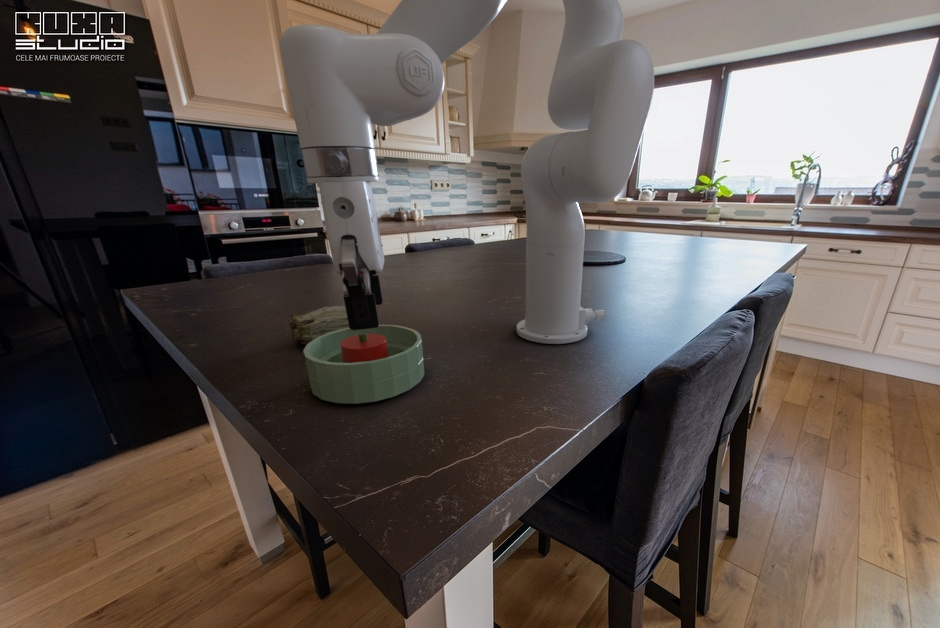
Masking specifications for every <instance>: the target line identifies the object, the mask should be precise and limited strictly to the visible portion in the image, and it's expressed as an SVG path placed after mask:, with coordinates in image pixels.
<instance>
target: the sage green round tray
mask: <svg viewBox="0 0 940 628" xmlns="http://www.w3.org/2000/svg"><path fill="white" fill-rule="evenodd" d="M362 332H366V333H367V334H380V335H383V336H385V337H386V340H387V349H388V357H387V358H382V359H377V360H373V361H366V362H355V363H343V359H342V352H341V346H340V343H341V341H343V340H344V339H346V338H348V337H351V336H355V335H358V334H359V333H362ZM302 353H303V357H304V363H305V366H306V367H305V369H306V372H307V377H308V382H309V388H310V390H311V393H312V395H313V396H315V397H317V398H319V399H320V400H322V401H326V402H330V403H334V404H347V405H348V404H349V405H350V404H351V405H352V404H353V405H358V404H367V403H375V402H379V401H383V400H386V399H391V398H393V397H396V396H399V395H401V394H403V393H405V392H408V391H410V390H411V389H413V388H414V387H415V386H417V385H418V384H419V383H421V381H422V380H423V378H424V377H425V376H426V375H425V374H426V373H425V372H426V371H425V361H424V349H423V340H422V334H421V333H420V332H419V331H417V330H416V329H413V328H411V327H407V326H403V325H396V324H380V325H379V326H378V327H377V328H370V329H361V330H351V329H350V328H345V329H341V330H337V331H334V332H330V333H327V334H325V335H322V336H320V337H317V338H315V339H314V340H312V341H311V342H309V343H308V344H307V345H305V346H304V348H303V350H302Z"/></svg>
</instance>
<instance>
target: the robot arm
mask: <svg viewBox="0 0 940 628" xmlns="http://www.w3.org/2000/svg"><path fill="white" fill-rule="evenodd" d="M507 2H508V0H400V2H399V3H398V5H397V6H396V7H395V8H394V10H393V11H392V12H391V14H390V15H389V16H388V18H386V20H385V22H384V23H383V24H382V25H381V27H380V28H379V29H378V31H377V32H376V33H350V32H345V31H344V30H341V29H338V28H336V27H332V26H329V25H322V24H313V23H308V24H298V25H293V26H290V27H287V28H286V29H285V30H283V32H282V34H281V36H280V38H279V48H280V49H279V50H280V56H281V61H282V65H283V66H282V67H283V71H284V75H285V80H286V86H287V89H288V96H289V100H290V104H291V108H292V109H291V110H292V114H293V119H294V123H295V128H296V132H297V138H298V143H299V147H300V152H301V157H302V162H303V167H304V171H305V177H306V181H307V184H318V188H319V194H320V200H321V202H320V203H321V206H322V213H323V218H324V219H323V220H324V223H325V224H324V225H325V230H326V235H327V240H328V245H329V250H330V255H331V259H332V262H333V267H334V270H335V272H336V273H337V275H339V276H341V280H342V293H343V301H344V306H345V307H346V313H347V318H348V323H349V328H350V329H351V330H361V329H370V328H377V327H378V326H379V323H380V322H379V315H378V310H377V308H378V307H377V308H376V306H381V305H383V303H384V301H383V295H382V288H381V282H380V276H379V274H380V273H382V271H383V269H384V265H385V254H384V248H383V243H382V238H381V237H382V236H381V231H380V224H379V218H378V212H377V207H376V201H375V196H374V192H373V189H372V188H373V187H372V185H371V183H376V182H380V181H381V179H380V173H379V167H378V161H377V154H376V152H377V151H376V146H375V139H374V133H373V132H374V131H373V125H375V126H379V127H392V126H394V125H397V124H401V123H403V122H406V121H411V120H413V119H416V118H419V117H423V116H424V115H426V114H428V113H429V112H431V111H432V110H433V109H434V108H435V107H436V106H437V104H438V103H439V102H440V101H441V98H442V97H443V96H442V95H443V93H444V89H445V72H444V69H443V64H444V63H445V62H446V61H447V60H448V59H449V58H450V57H451V56H453V54H455V53H457V51H459V50H460V49H462V48H463V47H464V46H466V45H467V44H468V43H470V42H471V41H473V40H474V39H476V38H477V37H478V36H479V35H480V34H481V33H482V32H483V31H484V30H485V29H486V28H487V27H488V26H489V25H491V23H492V22H493V21H494V20H495V19H496V18H497V16H498V15H499V13H500V12H501V11H502V9H503V7H504V6H505V4H507ZM562 3H563V7H564V17H565V20H564V28H563V32H562V37H561V41H560V45H559V50H558V54H557V58H556V61H555V65H554V69H553V74H552V78H551V81H550V84H549V85H550V86H549V91H548V95H547V112H548V115H549V118H550V120H551V122H552V123H553V124H554V125H555V126H557V128H560V129H564V130H568V131H566V132H561V133H560V132H559V133H555V134H550V135H546V136H543V137H541V138H539V139H537V140H535V141H534V142H533V143H532V144H531V145H530V146H529V147H528V148H527V149H526V151H525V153H524V155H523V157H522V161H521V166H520V167H521V168H520V180H521V186H522V193H523V199H524V205H525V206H524V207H525V218H526V219H525V220H526V221H525V222H526V225H525V226H526V227H525V229H526V231H525V232H526V233H525V234H526V235H525V236H526V238H525V239H526V241H525V246H526V247H525V305H524V307H525V311H524V318H523V319H522V320H520V321H519V322H517V324H516V334H517V335H518V336H519V337H520V338H522V339H524V340H526V341H530V342H534V343H537V344H545V345H564V344H572V343H576V342H579V341H581V340H583V339H585V338H586V337H587V335H588V326H587V325H586V324H589V323H590V322H604V321H605V320H606V317H607V315H606V311H605V310H604V309H599V310H598V309H597V310H593V308H590V307H589V308H584V307H582V306H581V299H582V286H583V285H582V284H583V266H584V252H585V239H586V232H585V231H586V227H585V221H584V218H583V214H582V211H581V209H580V206H579V203H605V202H608V201H611V200H613V199H615V198H617V197H618V196H619V194H620V193H621V192H623V190H624V188H625V187H626V185H627V183H628V182H629V178H630V176H631V173H632V170H633V168H634V165H635V161H636V157H637V154H638V150H639V148H640V144H641V140H642V138H643V134H644V131H645V127H646V123H647V120H648V117H649V115H650V114H649V113H650V110H651V106H652V102H653V97H654V92H655V70H654V63H653V60H652V57H651V54H650V53H649V51H648V49H647V48H646V47H645V46H644V45H643V44H642V43H641V42H639V41H637V40H634V39H627V38H625V39H622V36H623V31H624V13H623V10H622V7H621V4H620V1H619V0H562Z"/></svg>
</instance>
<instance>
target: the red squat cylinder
mask: <svg viewBox="0 0 940 628" xmlns="http://www.w3.org/2000/svg"><path fill="white" fill-rule="evenodd" d="M340 346H341V352H342V359H343V363H355V362H366V361H373V360H377V359H382V358H387V357H388V349H387V340H386V337H385V336H383V335H380V334H367V333H366V332H362V333H359V334H358V335H355V336H351V337H348V338H346V339H344V340H343V341H341V343H340Z"/></svg>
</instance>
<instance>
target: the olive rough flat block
mask: <svg viewBox="0 0 940 628" xmlns="http://www.w3.org/2000/svg"><path fill="white" fill-rule="evenodd" d="M376 308H378V305H376ZM288 324H289V327H290V330H289V331H290V336H291V338H293V340H294V341H295V342H296V343H299V344H301V345H303V346H306V345H307V344H308V343H309V342H311V341H312V340H314V339H315V338H317V337H320V336H322V335H325V334H327V333H330V332H334V331H337V330H341V329H345V328H349V323H348V318H347V313H346V307H345V305H332V306H330V305H329V306H326V305H325V306H323V307H321V308H318V309H314V310H312V311H310V312H307V313H306V314H302V315H298V314H297V313H292V314H291V315H290V318H289V319H288ZM379 325H381V322H379Z"/></svg>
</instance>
